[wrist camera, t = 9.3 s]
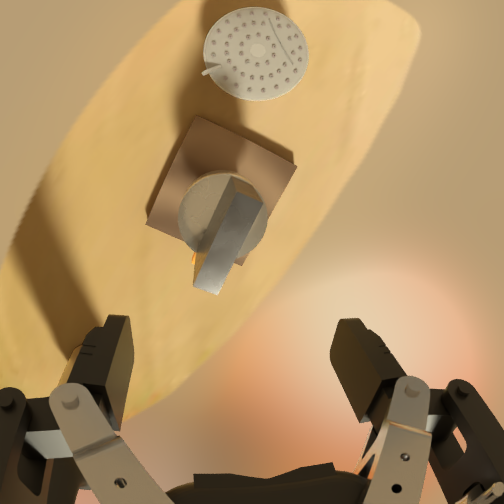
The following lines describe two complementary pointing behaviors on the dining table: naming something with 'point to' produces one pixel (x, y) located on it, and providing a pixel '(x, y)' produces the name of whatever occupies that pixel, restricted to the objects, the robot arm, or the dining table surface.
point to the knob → (220, 224)
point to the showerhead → (255, 54)
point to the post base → (212, 159)
